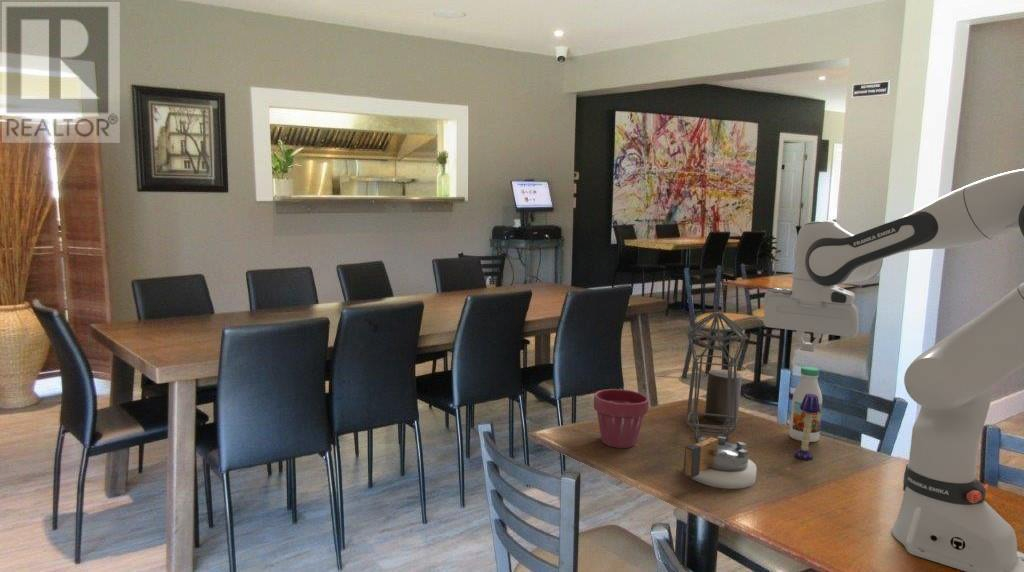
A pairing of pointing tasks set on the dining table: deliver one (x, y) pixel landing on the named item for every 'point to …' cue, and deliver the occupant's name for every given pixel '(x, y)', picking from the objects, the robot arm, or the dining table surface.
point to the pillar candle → (721, 394)
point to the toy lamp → (807, 424)
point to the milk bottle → (804, 387)
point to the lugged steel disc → (715, 456)
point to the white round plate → (728, 477)
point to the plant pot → (620, 416)
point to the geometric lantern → (742, 336)
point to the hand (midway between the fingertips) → (807, 350)
